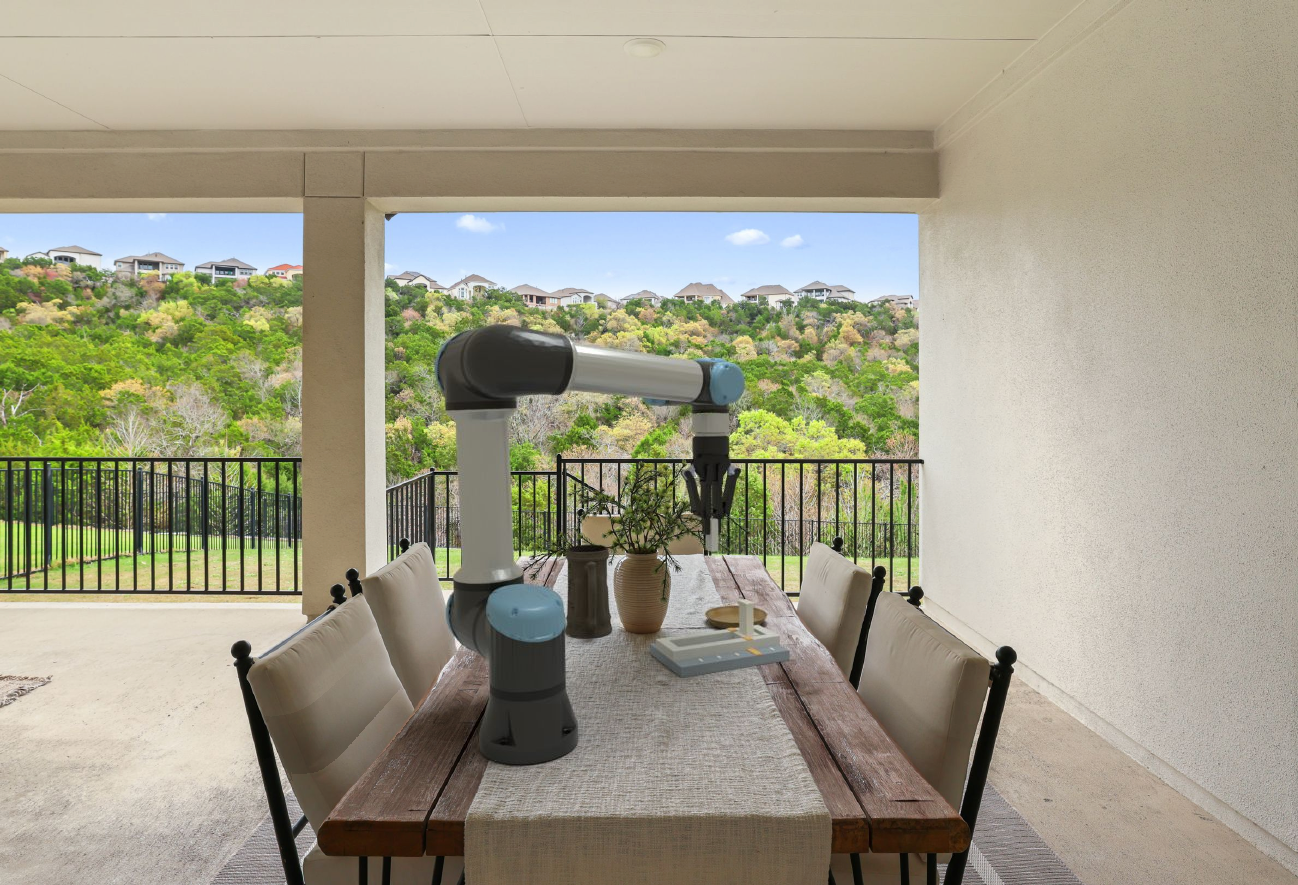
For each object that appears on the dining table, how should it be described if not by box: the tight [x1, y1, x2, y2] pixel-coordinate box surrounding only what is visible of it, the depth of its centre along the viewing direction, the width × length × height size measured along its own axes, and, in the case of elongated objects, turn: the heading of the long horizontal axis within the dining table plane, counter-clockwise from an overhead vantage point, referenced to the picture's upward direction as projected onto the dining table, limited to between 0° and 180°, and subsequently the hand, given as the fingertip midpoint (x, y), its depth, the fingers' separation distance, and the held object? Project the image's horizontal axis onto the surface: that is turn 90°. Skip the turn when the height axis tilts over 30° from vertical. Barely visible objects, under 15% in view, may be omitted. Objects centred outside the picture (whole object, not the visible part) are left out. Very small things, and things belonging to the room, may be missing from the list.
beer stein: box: [565, 544, 613, 639], centre depth 172 cm, size 15×11×20 cm
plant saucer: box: [704, 605, 768, 630], centre depth 180 cm, size 15×15×3 cm
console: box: [649, 624, 791, 679], centre depth 156 cm, size 16×24×4 cm, turn 112°
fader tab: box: [733, 598, 759, 639], centre depth 158 cm, size 4×4×8 cm
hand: (712, 550), depth 154 cm, fingers closed
